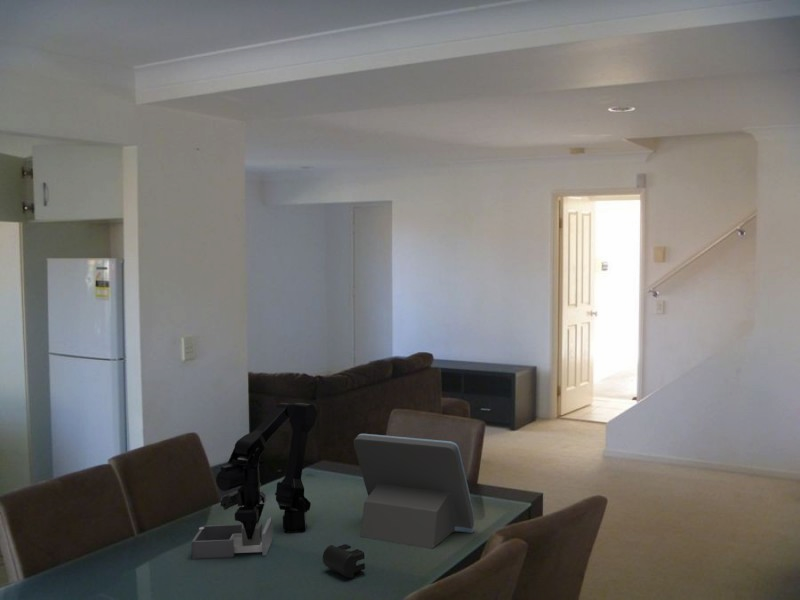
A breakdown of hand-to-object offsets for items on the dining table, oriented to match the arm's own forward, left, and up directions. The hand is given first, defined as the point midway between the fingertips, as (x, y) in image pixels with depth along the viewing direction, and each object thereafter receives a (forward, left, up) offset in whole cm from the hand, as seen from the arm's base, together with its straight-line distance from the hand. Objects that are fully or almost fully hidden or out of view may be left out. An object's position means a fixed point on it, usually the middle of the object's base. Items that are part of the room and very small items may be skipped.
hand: (252, 534), depth 235 cm
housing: (+10, 0, -4) cm, 11 cm away
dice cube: (0, 0, -3) cm, 3 cm away
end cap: (-28, +22, -4) cm, 36 cm away
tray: (+1, 0, -4) cm, 4 cm away
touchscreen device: (-47, -8, -4) cm, 48 cm away
